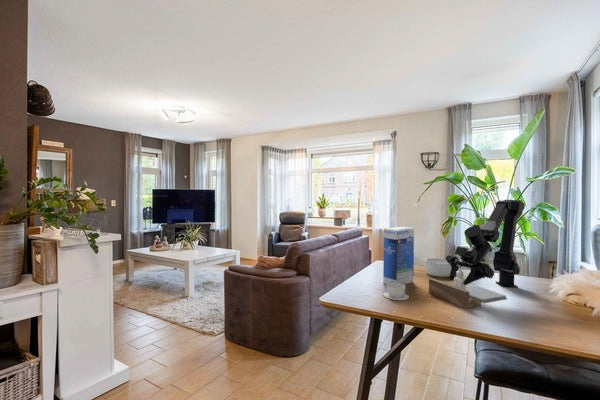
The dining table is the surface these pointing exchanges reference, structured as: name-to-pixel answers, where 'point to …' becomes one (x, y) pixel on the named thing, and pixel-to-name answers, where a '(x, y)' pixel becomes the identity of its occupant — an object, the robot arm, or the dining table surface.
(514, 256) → the robot arm
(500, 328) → the dining table surface
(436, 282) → the walnut stand
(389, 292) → the teacup
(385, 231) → the string lights box
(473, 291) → the grey mat
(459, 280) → the eye dropper bottle
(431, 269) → the ramekin
